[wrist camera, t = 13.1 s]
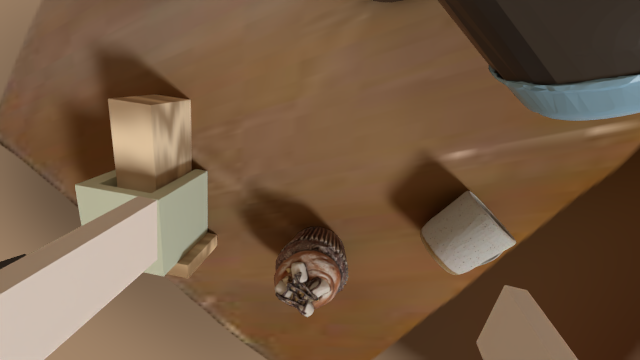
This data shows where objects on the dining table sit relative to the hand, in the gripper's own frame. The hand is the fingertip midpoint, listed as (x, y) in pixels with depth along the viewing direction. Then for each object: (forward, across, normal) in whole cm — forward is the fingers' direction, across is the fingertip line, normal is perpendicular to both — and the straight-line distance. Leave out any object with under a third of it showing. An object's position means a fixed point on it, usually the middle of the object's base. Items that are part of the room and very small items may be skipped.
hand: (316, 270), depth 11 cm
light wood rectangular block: (+29, -24, -8) cm, 38 cm away
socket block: (+28, -24, -15) cm, 40 cm away
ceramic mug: (+29, +17, -9) cm, 35 cm away
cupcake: (+29, -1, -18) cm, 34 cm away
